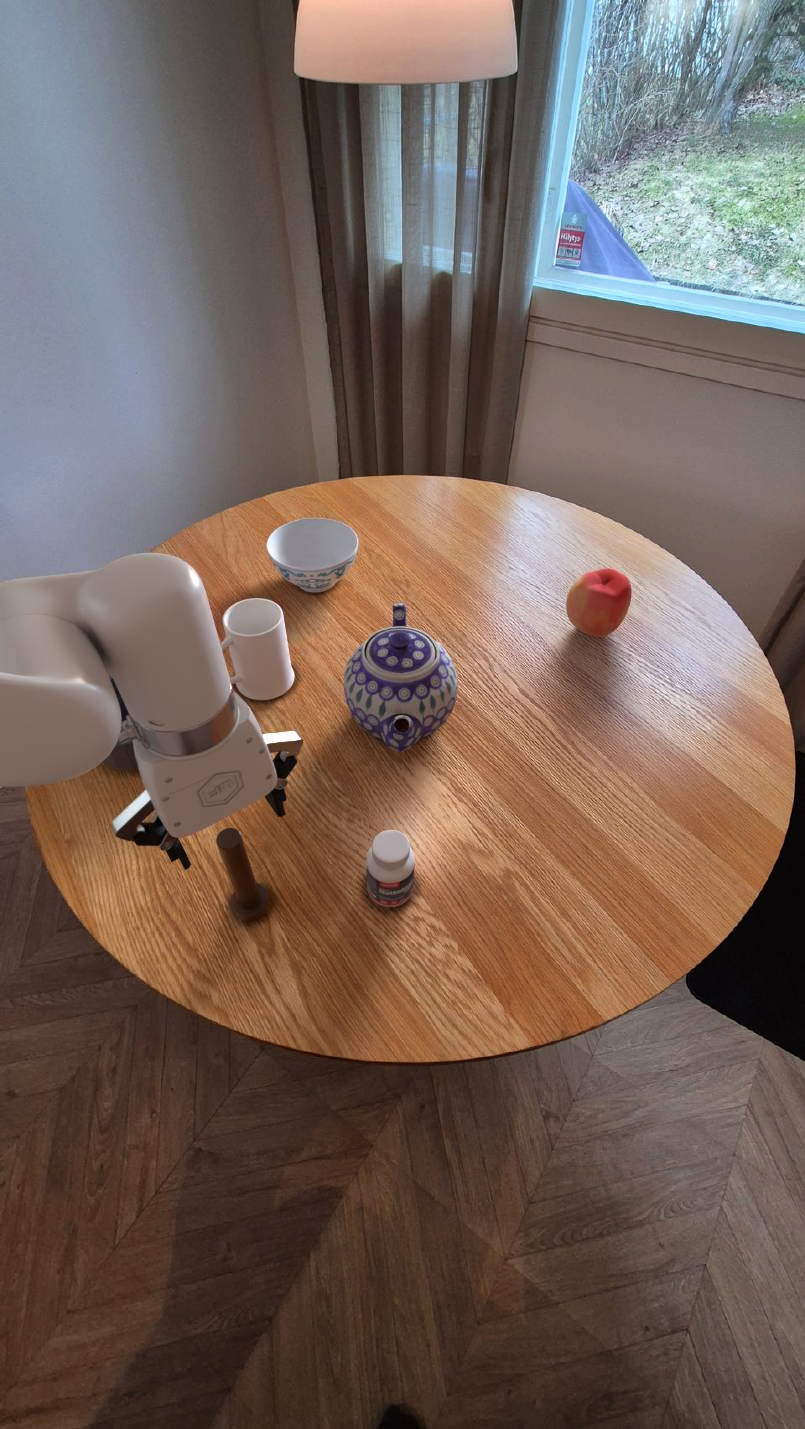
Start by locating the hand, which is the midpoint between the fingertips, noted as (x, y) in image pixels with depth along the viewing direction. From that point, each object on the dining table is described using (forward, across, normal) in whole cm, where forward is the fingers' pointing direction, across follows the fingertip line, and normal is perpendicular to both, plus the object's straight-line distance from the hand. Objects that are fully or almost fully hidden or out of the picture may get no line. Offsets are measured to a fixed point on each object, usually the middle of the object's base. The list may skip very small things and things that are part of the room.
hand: (230, 831), depth 63 cm
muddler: (+15, -1, 0) cm, 15 cm away
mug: (+15, +15, +31) cm, 38 cm away
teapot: (+16, +29, +14) cm, 36 cm away
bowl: (+15, -2, +31) cm, 34 cm away
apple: (+16, +65, +12) cm, 68 cm away
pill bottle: (+15, +13, -7) cm, 22 cm away
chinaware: (+16, +35, +48) cm, 62 cm away
